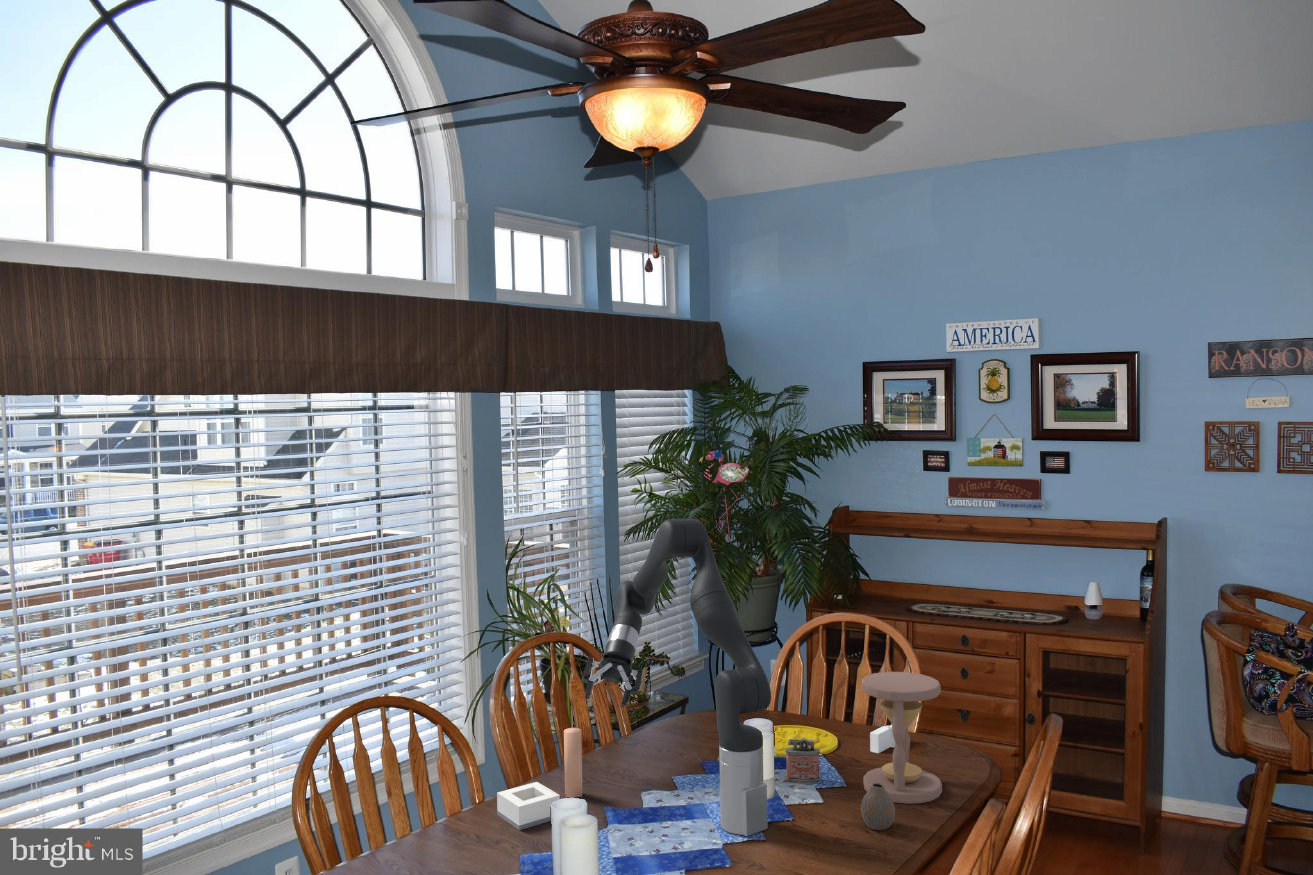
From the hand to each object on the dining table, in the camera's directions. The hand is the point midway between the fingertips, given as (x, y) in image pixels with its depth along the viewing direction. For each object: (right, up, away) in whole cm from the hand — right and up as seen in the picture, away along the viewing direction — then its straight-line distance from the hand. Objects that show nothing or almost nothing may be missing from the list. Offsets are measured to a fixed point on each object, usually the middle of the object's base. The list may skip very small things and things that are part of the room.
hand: (605, 701), depth 228 cm
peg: (-7, -20, -7) cm, 22 cm away
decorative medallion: (+48, -19, +26) cm, 58 cm away
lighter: (+47, -19, -1) cm, 51 cm away
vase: (+59, -19, -27) cm, 67 cm away
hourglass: (+69, -18, -7) cm, 72 cm away
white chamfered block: (+73, -18, +21) cm, 78 cm away
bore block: (-16, -20, -19) cm, 32 cm away
